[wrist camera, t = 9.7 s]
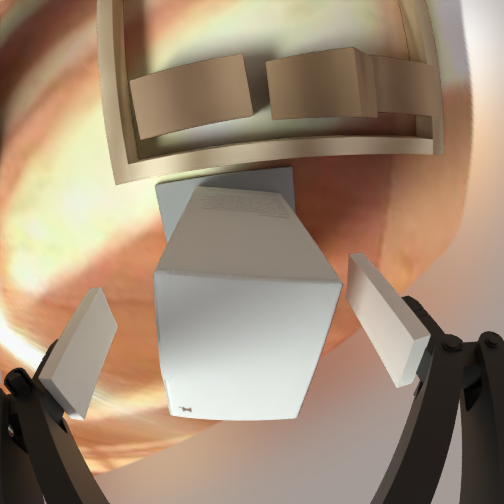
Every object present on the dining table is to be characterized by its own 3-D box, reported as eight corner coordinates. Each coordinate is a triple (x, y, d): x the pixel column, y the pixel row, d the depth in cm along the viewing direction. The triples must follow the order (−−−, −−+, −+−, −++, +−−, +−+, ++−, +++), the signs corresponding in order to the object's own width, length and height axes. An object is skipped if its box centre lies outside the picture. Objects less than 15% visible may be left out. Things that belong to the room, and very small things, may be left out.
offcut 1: (154, 137, 19) (140, 139, 16) (145, 86, 18) (129, 80, 14) (250, 116, 19) (253, 115, 16) (240, 65, 17) (242, 53, 14)
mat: (182, 298, 25) (181, 301, 24) (156, 184, 20) (154, 185, 20) (298, 284, 25) (299, 286, 24) (291, 166, 21) (292, 166, 20)
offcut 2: (297, 118, 19) (272, 119, 17) (292, 66, 17) (265, 61, 16) (377, 117, 15) (360, 116, 13) (371, 57, 14) (353, 47, 12)
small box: (268, 286, 24) (298, 421, 12) (191, 282, 24) (167, 418, 12) (282, 190, 21) (348, 282, 9) (194, 183, 20) (146, 270, 8)
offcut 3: (338, 111, 19) (356, 110, 16) (332, 61, 18) (350, 52, 14) (413, 115, 19) (438, 116, 16) (409, 69, 18) (434, 65, 14)
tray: (127, 178, 20) (59, 222, 11) (109, -24, 12) (54, -77, 3) (426, 150, 20) (513, 177, 11) (398, -33, 13) (462, -72, 4)
